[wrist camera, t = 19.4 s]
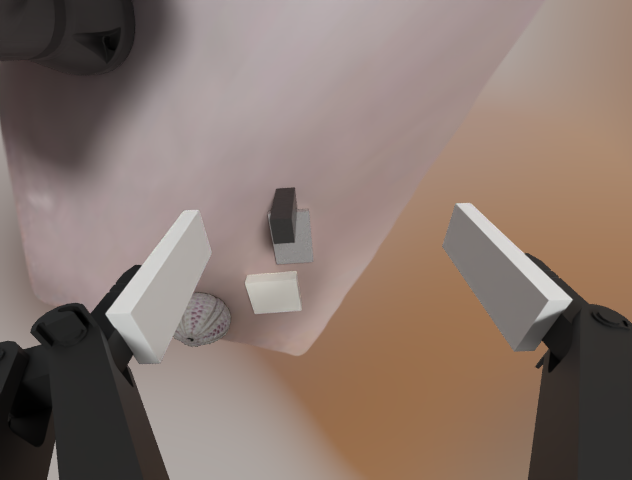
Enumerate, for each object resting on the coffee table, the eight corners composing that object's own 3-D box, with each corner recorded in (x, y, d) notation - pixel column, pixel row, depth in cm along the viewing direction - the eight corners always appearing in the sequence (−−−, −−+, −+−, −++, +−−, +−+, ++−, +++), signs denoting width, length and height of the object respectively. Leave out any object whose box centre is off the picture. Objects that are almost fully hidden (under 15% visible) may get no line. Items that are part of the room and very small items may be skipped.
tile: (247, 274, 56) (256, 304, 61) (244, 283, 53) (254, 314, 58) (296, 270, 55) (301, 301, 60) (296, 279, 53) (301, 310, 58)
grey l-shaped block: (277, 260, 53) (271, 299, 45) (264, 189, 45) (254, 220, 37) (313, 258, 53) (314, 296, 45) (307, 186, 45) (306, 217, 37)
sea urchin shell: (239, 295, 59) (230, 326, 52) (227, 333, 66) (218, 364, 59) (174, 280, 56) (156, 310, 49) (169, 321, 63) (153, 353, 56)
